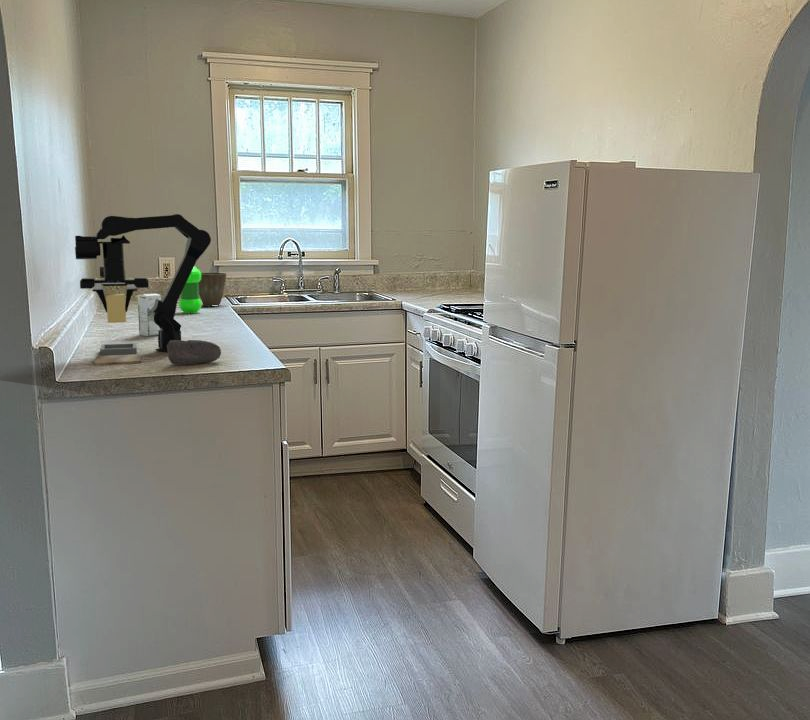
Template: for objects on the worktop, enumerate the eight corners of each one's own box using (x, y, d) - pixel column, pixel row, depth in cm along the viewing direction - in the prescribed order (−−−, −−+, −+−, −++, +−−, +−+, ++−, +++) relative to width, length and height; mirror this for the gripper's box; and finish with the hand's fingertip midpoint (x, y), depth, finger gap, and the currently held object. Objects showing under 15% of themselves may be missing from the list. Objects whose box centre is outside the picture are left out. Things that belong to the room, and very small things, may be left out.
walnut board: (140, 356, 217) (140, 354, 217) (140, 363, 206) (140, 360, 206) (96, 358, 213) (96, 356, 213) (94, 365, 202) (94, 363, 202)
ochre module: (126, 320, 223) (124, 293, 222) (125, 322, 219) (124, 295, 217) (108, 320, 222) (107, 294, 220) (107, 322, 217) (106, 295, 216)
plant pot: (197, 304, 366) (196, 272, 364) (228, 304, 369) (227, 272, 366) (194, 307, 352) (193, 274, 349) (226, 307, 355) (225, 274, 352)
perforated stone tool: (219, 360, 212) (219, 336, 210) (223, 363, 207) (222, 339, 206) (165, 364, 206) (164, 339, 204) (167, 367, 201) (166, 342, 200)
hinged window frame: (136, 344, 239) (136, 338, 238) (136, 354, 220) (136, 348, 219) (103, 345, 235) (102, 339, 235) (100, 356, 216) (100, 349, 216)
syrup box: (153, 333, 265) (151, 293, 262) (162, 335, 261) (160, 294, 258) (139, 335, 260) (136, 294, 258) (148, 336, 257) (146, 295, 254)
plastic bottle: (198, 311, 338) (196, 256, 333) (205, 313, 329) (203, 256, 325) (176, 312, 332) (173, 256, 328) (182, 314, 324) (180, 257, 319)
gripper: (147, 258, 227) (149, 308, 230) (81, 258, 221) (84, 310, 224) (147, 259, 217) (149, 312, 220) (78, 259, 211) (81, 314, 214)
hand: (116, 312), depth 220 cm, fingers closed on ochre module, 5 cm apart
